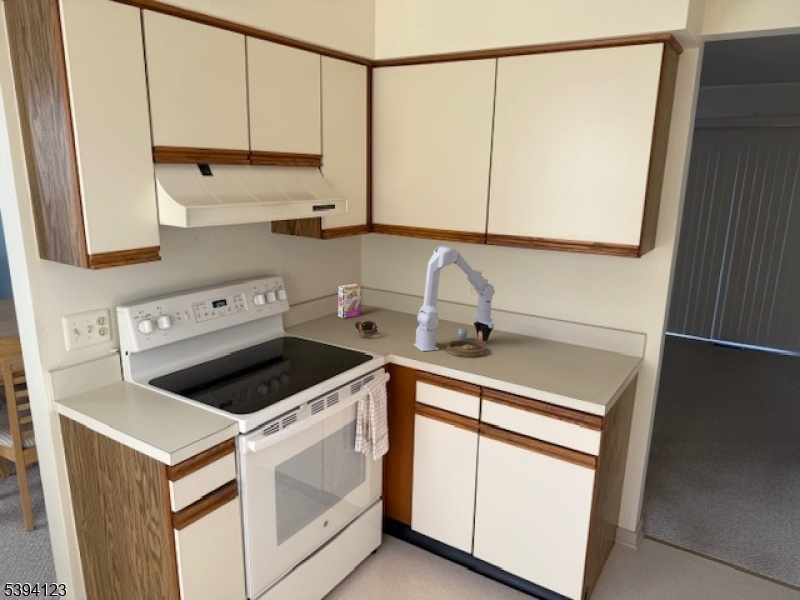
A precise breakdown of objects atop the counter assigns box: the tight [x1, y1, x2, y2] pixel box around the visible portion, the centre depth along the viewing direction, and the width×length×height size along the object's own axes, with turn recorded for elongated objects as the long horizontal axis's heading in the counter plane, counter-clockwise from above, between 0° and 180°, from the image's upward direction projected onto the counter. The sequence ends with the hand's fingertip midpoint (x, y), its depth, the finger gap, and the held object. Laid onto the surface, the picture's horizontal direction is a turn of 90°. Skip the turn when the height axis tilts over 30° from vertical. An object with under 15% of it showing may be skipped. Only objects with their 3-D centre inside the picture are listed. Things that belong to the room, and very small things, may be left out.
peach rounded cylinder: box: [477, 331, 488, 345], centre depth 242 cm, size 4×4×5 cm
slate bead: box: [457, 327, 468, 340], centre depth 245 cm, size 4×4×5 cm
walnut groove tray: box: [446, 339, 486, 359], centre depth 229 cm, size 16×16×2 cm
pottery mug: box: [354, 320, 378, 339], centre depth 248 cm, size 12×10×8 cm
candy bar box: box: [337, 283, 362, 320], centre depth 279 cm, size 11×5×16 cm, turn 130°
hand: (482, 339), depth 242 cm, fingers closed on peach rounded cylinder, 4 cm apart
